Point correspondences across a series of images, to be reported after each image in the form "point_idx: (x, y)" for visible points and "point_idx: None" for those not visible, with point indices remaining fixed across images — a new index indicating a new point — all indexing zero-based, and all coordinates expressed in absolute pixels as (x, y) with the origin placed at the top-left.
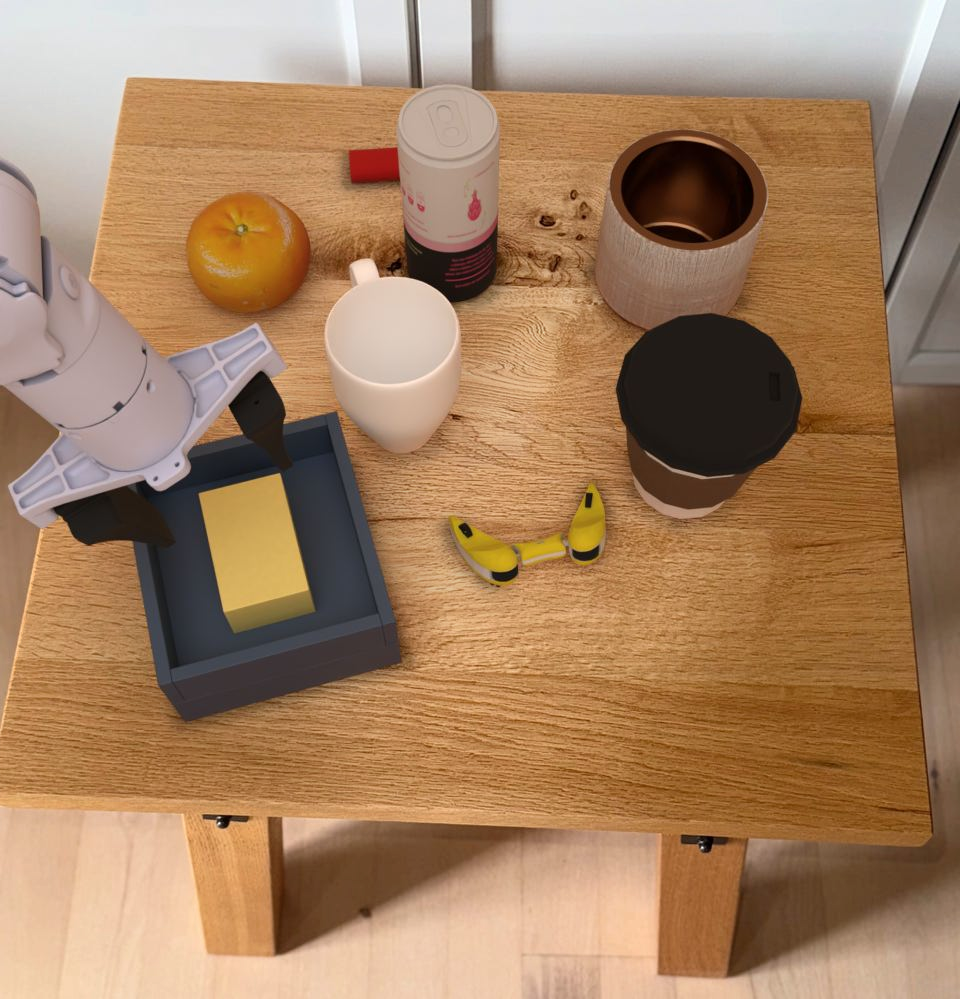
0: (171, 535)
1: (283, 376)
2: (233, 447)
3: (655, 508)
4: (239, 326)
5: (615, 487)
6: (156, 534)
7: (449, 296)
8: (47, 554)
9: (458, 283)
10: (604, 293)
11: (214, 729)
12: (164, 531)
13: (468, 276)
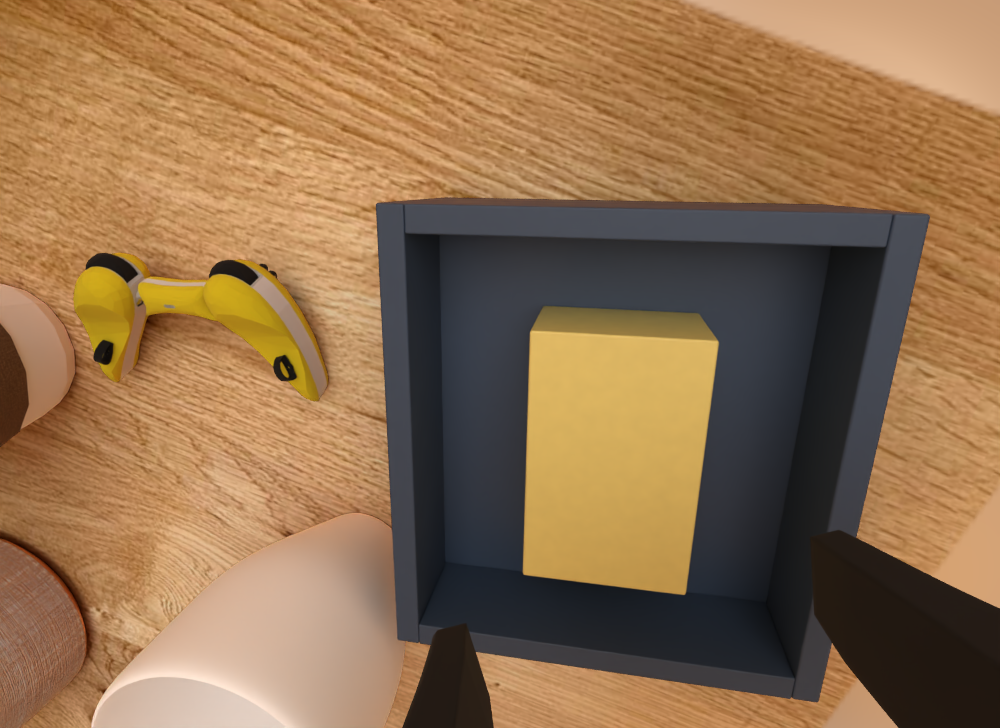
0: (817, 560)
1: (503, 675)
2: (593, 649)
3: (41, 313)
4: None
5: None
6: (905, 600)
7: None
8: (940, 561)
9: None
10: (69, 622)
11: (778, 176)
12: (846, 584)
13: None
